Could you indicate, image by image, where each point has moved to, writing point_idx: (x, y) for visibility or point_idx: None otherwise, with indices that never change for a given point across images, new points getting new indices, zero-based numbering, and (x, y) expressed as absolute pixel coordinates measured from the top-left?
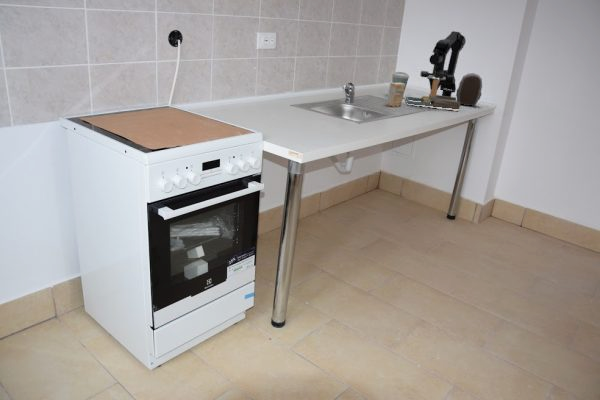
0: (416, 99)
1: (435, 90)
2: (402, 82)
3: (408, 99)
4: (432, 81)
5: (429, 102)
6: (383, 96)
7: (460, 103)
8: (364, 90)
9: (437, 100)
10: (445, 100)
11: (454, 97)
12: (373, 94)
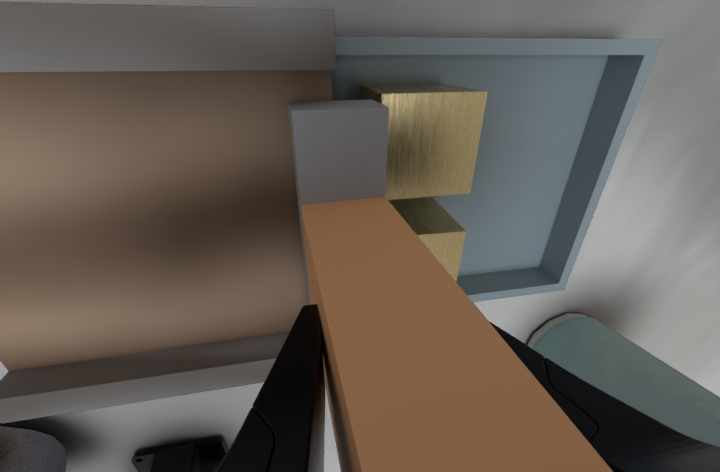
0: (465, 285)
1: (350, 257)
2: (702, 426)
3: (527, 272)
4: (600, 453)
5: (386, 88)
6: (663, 292)
7: (13, 429)
8: (700, 368)
9: (274, 11)
10: (93, 46)
11: (17, 412)
12: (707, 306)
